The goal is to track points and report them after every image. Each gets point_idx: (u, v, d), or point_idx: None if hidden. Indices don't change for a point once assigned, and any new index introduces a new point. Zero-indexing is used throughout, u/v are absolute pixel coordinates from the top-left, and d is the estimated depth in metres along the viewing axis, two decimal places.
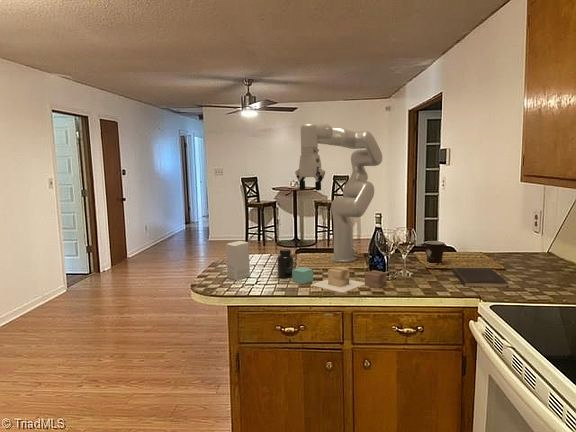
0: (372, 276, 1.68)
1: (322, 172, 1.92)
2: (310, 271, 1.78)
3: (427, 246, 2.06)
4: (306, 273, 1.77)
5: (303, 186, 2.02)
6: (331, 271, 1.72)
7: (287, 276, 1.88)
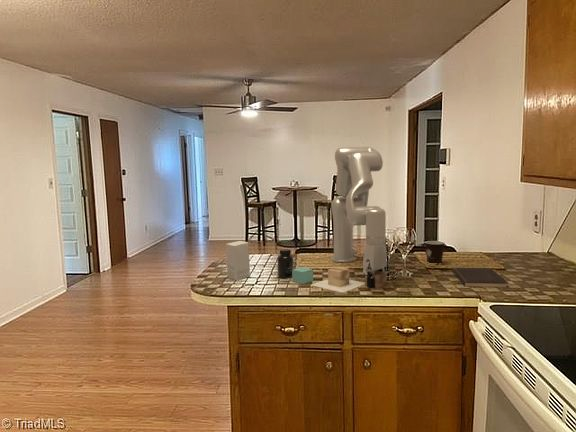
0: None
1: (386, 263, 1.75)
2: (310, 271, 1.78)
3: (427, 246, 2.06)
4: (306, 273, 1.77)
5: None
6: (331, 271, 1.72)
7: (287, 276, 1.88)
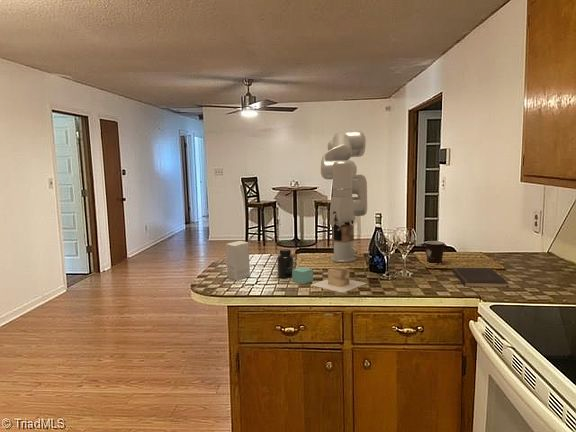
0: None
1: (354, 218, 1.75)
2: (310, 271, 1.78)
3: (427, 246, 2.06)
4: (306, 273, 1.77)
5: None
6: (331, 271, 1.72)
7: (287, 276, 1.88)
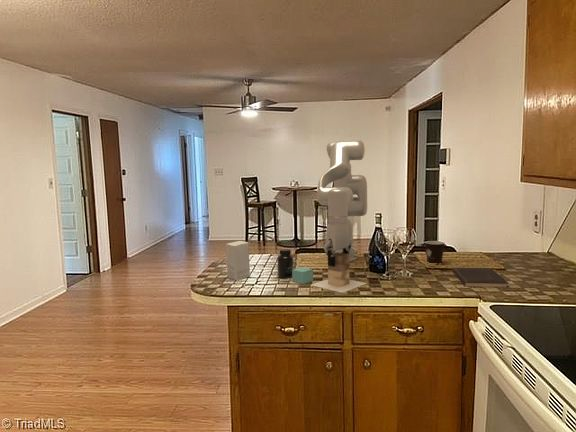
0: None
1: (351, 241, 1.77)
2: (310, 271, 1.78)
3: (427, 246, 2.06)
4: (306, 273, 1.77)
5: None
6: (331, 271, 1.72)
7: (287, 276, 1.88)
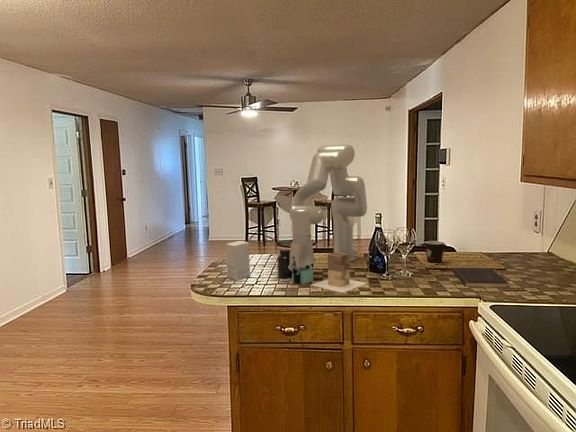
0: (334, 257, 1.70)
1: (314, 260, 1.83)
2: (310, 271, 1.78)
3: (427, 246, 2.06)
4: (306, 273, 1.77)
5: None
6: (331, 271, 1.72)
7: (287, 276, 1.88)
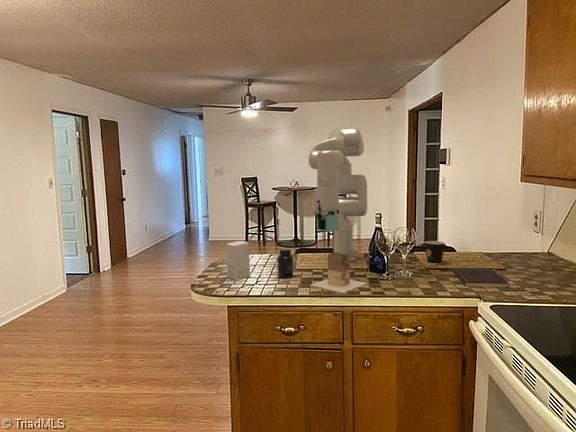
0: (334, 257, 1.70)
1: (340, 207, 1.76)
2: (335, 216, 1.71)
3: (427, 246, 2.06)
4: (331, 218, 1.70)
5: None
6: (331, 271, 1.72)
7: (287, 276, 1.88)
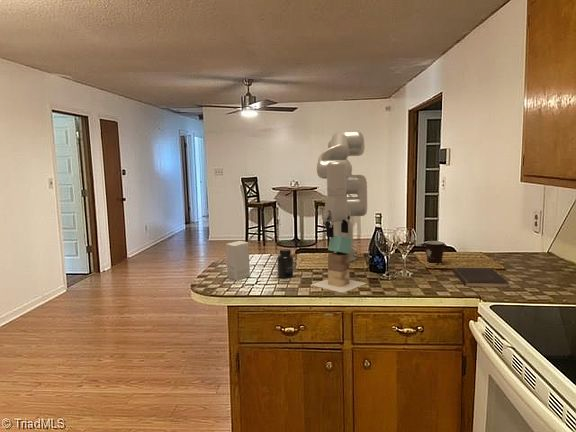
0: (335, 257, 1.71)
1: (350, 212, 1.81)
2: (349, 240, 1.73)
3: (427, 246, 2.06)
4: (344, 239, 1.71)
5: None
6: (331, 271, 1.72)
7: (287, 276, 1.88)
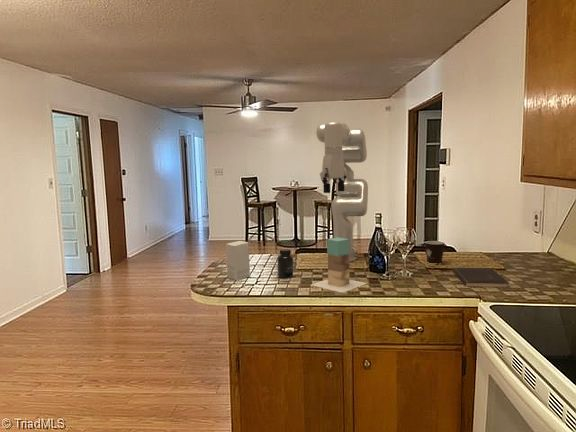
0: (334, 257, 1.70)
1: (346, 172, 1.93)
2: (346, 241, 1.71)
3: (427, 246, 2.06)
4: (341, 243, 1.70)
5: None
6: (331, 271, 1.72)
7: (287, 276, 1.88)
